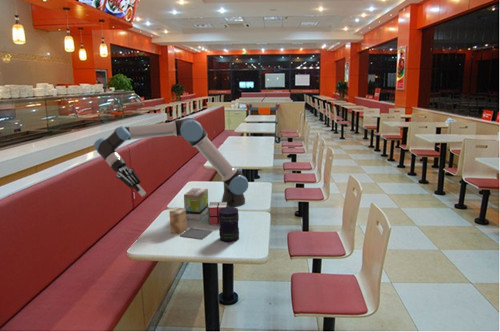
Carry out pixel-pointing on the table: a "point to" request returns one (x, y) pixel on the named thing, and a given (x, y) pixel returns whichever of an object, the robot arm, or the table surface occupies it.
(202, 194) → the tea box
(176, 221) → the oak block
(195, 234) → the mat
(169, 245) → the table surface
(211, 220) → the puzzle cube
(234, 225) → the storage jar
